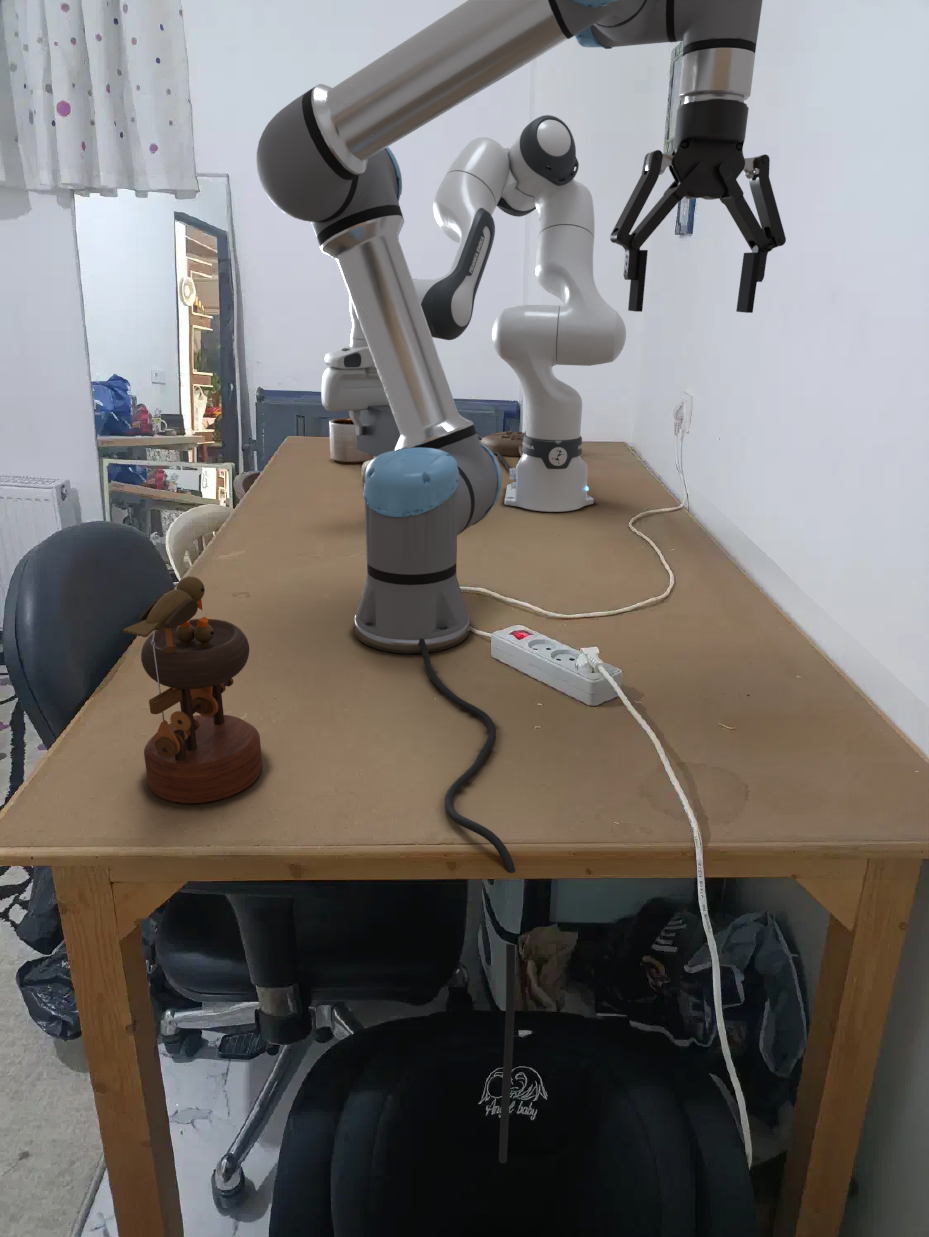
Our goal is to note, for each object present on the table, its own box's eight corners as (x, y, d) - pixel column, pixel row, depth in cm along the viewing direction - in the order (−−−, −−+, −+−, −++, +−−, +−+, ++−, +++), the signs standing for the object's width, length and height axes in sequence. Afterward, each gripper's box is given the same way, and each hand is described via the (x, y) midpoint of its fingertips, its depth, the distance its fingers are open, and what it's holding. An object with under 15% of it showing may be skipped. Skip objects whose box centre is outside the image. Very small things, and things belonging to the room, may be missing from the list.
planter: (327, 456, 217) (325, 418, 214) (369, 454, 220) (368, 417, 217) (334, 465, 208) (332, 425, 204) (377, 463, 211) (376, 424, 207)
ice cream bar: (486, 465, 210) (486, 448, 209) (479, 444, 236) (479, 428, 235) (570, 465, 211) (571, 449, 210) (554, 444, 237) (554, 429, 236)
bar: (439, 469, 143) (440, 417, 140) (411, 472, 140) (411, 419, 137) (382, 446, 161) (381, 401, 158) (356, 448, 159) (355, 402, 156)
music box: (239, 818, 74) (196, 604, 66) (121, 817, 75) (65, 608, 68) (291, 731, 88) (261, 546, 80) (191, 731, 89) (151, 550, 82)
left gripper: (801, 114, 97) (773, 311, 105) (591, 104, 93) (578, 309, 101) (838, 102, 90) (805, 314, 98) (613, 91, 86) (598, 312, 94)
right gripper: (419, 353, 158) (420, 427, 163) (316, 355, 149) (319, 435, 154) (435, 355, 153) (435, 432, 158) (329, 358, 144) (332, 440, 149)
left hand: (690, 312), depth 99 cm, fingers open, 13 cm apart
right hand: (377, 433), depth 156 cm, fingers closed on bar, 5 cm apart
